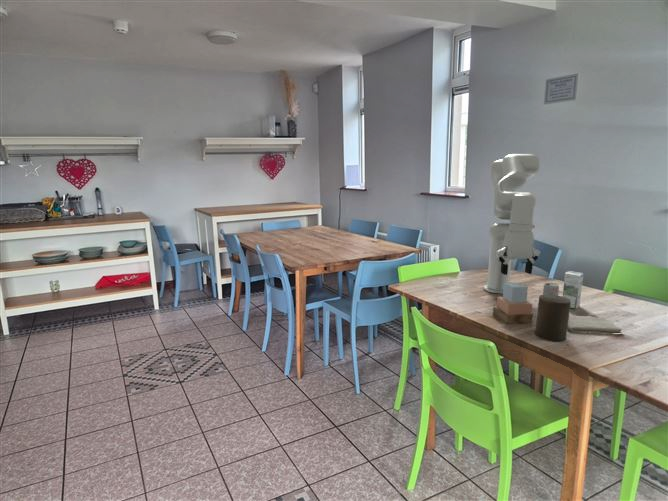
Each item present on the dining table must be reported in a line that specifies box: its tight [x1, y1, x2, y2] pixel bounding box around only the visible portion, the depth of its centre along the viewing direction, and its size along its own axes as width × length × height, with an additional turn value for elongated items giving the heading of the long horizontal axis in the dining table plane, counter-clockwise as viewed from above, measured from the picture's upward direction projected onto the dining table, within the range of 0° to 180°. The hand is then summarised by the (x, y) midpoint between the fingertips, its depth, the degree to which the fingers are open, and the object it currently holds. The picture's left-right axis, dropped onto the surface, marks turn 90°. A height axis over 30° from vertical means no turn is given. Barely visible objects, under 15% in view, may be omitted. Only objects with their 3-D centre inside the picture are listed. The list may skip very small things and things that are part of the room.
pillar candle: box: [534, 293, 571, 343], centre depth 145 cm, size 10×10×15 cm
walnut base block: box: [492, 305, 533, 326], centre depth 162 cm, size 10×10×4 cm
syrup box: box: [561, 270, 584, 310], centre depth 176 cm, size 6×6×14 cm
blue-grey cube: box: [502, 281, 529, 303], centre depth 160 cm, size 6×6×6 cm
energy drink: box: [542, 282, 560, 296], centre depth 167 cm, size 5×5×12 cm
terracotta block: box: [496, 296, 533, 315], centre depth 161 cm, size 9×9×4 cm
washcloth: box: [567, 315, 622, 334], centre depth 154 cm, size 12×18×3 cm, turn 84°
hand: (516, 273), depth 159 cm, fingers open, 9 cm apart
